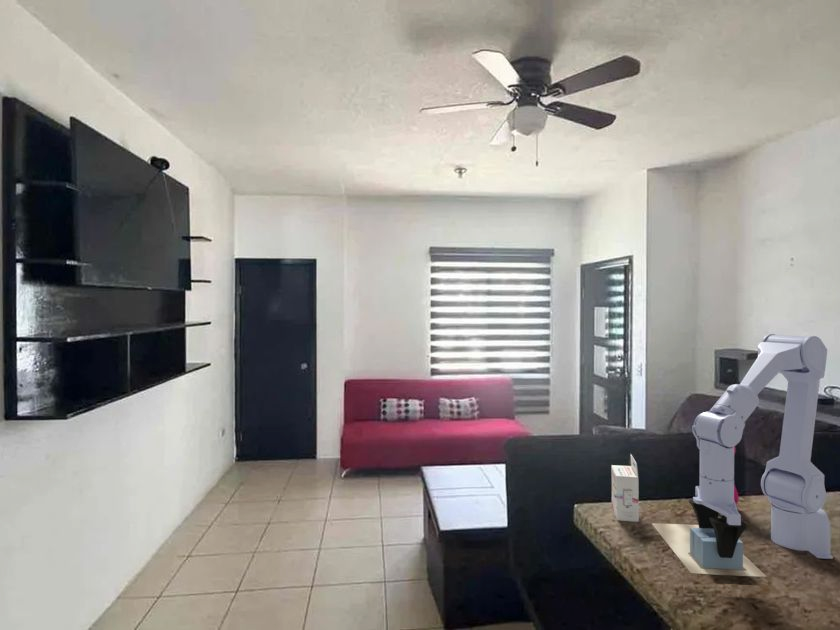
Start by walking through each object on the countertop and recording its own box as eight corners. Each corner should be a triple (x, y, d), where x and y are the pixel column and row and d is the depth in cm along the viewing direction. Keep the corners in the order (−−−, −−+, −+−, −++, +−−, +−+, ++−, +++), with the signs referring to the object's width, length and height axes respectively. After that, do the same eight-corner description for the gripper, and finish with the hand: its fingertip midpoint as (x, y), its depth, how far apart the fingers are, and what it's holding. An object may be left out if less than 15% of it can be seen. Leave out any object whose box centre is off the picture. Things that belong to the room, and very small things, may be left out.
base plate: (712, 532, 116) (712, 506, 116) (766, 585, 94) (767, 552, 94) (651, 529, 118) (651, 503, 117) (690, 581, 96) (691, 549, 96)
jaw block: (727, 554, 102) (727, 529, 102) (742, 569, 97) (743, 542, 96) (690, 552, 103) (690, 527, 103) (702, 567, 97) (702, 541, 97)
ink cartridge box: (610, 512, 128) (610, 452, 127) (632, 513, 127) (632, 453, 126) (616, 526, 119) (616, 462, 119) (639, 528, 118) (639, 463, 118)
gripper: (679, 464, 107) (679, 530, 107) (711, 489, 93) (710, 565, 93) (716, 465, 106) (716, 531, 107) (753, 490, 92) (753, 567, 92)
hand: (716, 547), depth 100 cm, fingers open, 7 cm apart
